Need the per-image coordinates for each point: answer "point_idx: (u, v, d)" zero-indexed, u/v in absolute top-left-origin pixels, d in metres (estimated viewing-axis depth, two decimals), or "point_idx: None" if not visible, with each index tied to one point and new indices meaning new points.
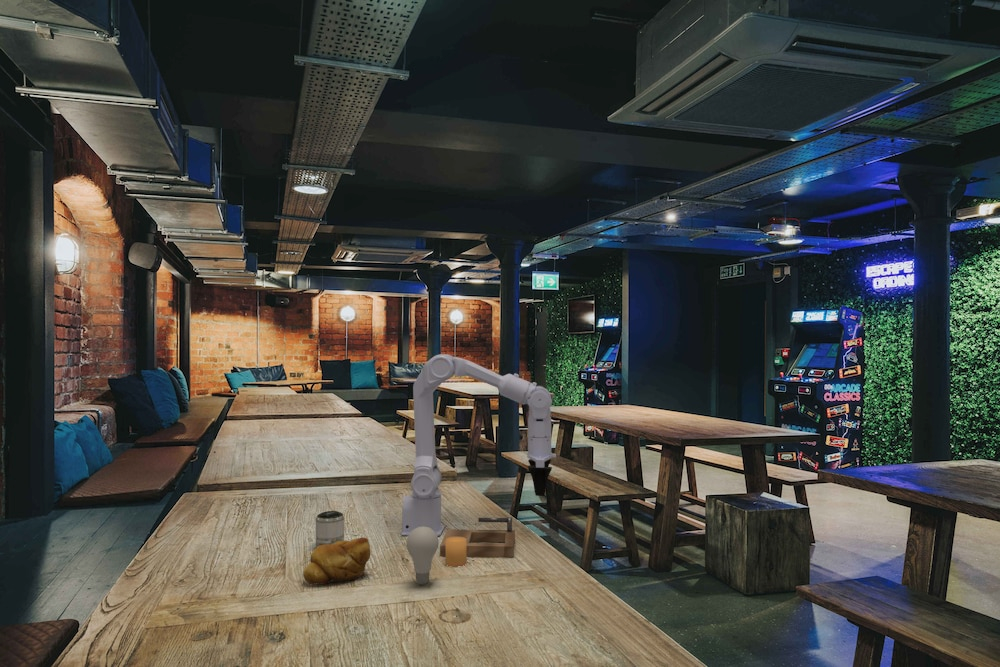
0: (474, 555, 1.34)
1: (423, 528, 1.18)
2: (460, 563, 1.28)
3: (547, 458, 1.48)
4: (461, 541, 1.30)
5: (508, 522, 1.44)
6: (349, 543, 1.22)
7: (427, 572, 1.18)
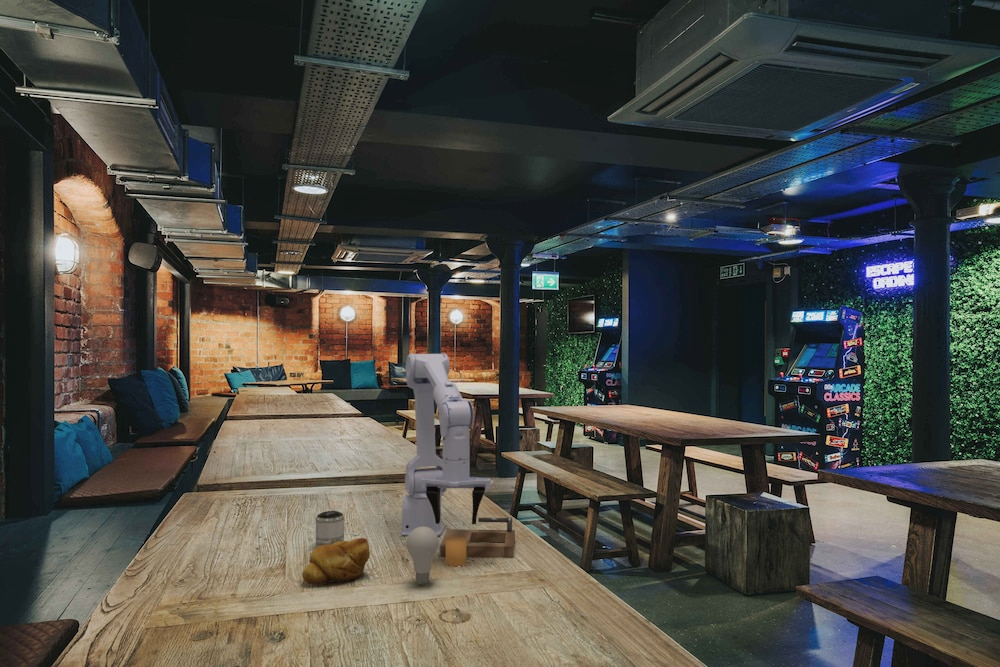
0: (474, 555, 1.34)
1: (423, 528, 1.18)
2: (460, 563, 1.28)
3: (436, 482, 1.29)
4: (461, 541, 1.30)
5: (508, 522, 1.44)
6: (348, 543, 1.22)
7: (427, 572, 1.18)
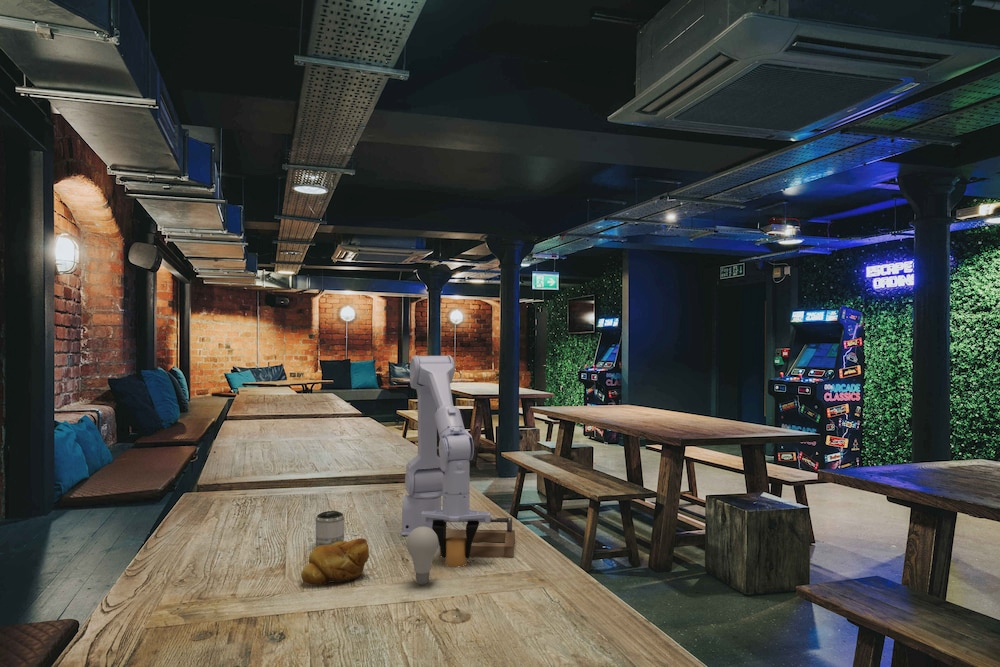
0: (474, 555, 1.34)
1: (423, 528, 1.18)
2: (460, 563, 1.28)
3: (436, 516, 1.29)
4: (461, 540, 1.30)
5: (508, 522, 1.44)
6: (347, 544, 1.21)
7: (427, 572, 1.18)
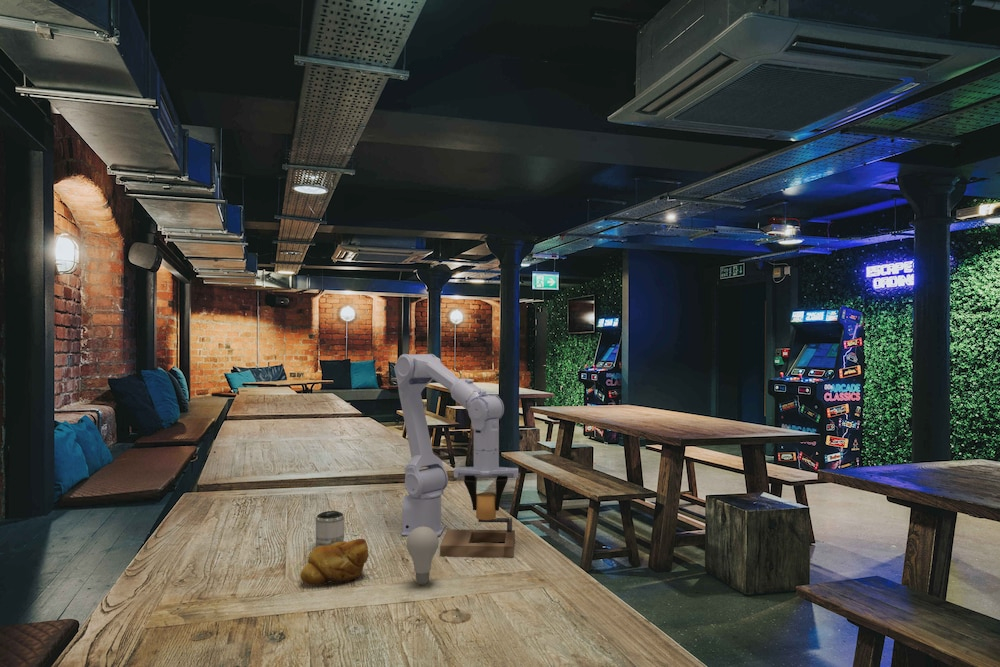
0: (474, 555, 1.34)
1: (423, 528, 1.18)
2: (489, 516, 1.37)
3: (468, 471, 1.38)
4: (490, 496, 1.38)
5: (508, 522, 1.44)
6: (347, 544, 1.21)
7: (427, 572, 1.18)
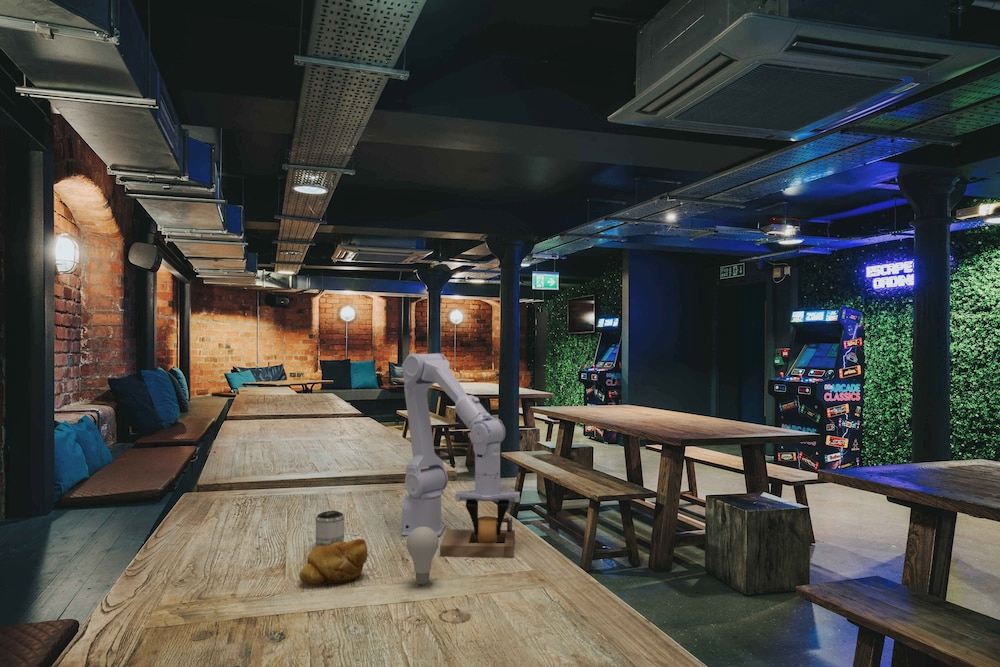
0: (474, 555, 1.34)
1: (423, 528, 1.18)
2: (491, 540, 1.38)
3: (469, 495, 1.39)
4: (492, 520, 1.39)
5: (508, 522, 1.44)
6: (346, 544, 1.21)
7: (427, 572, 1.18)
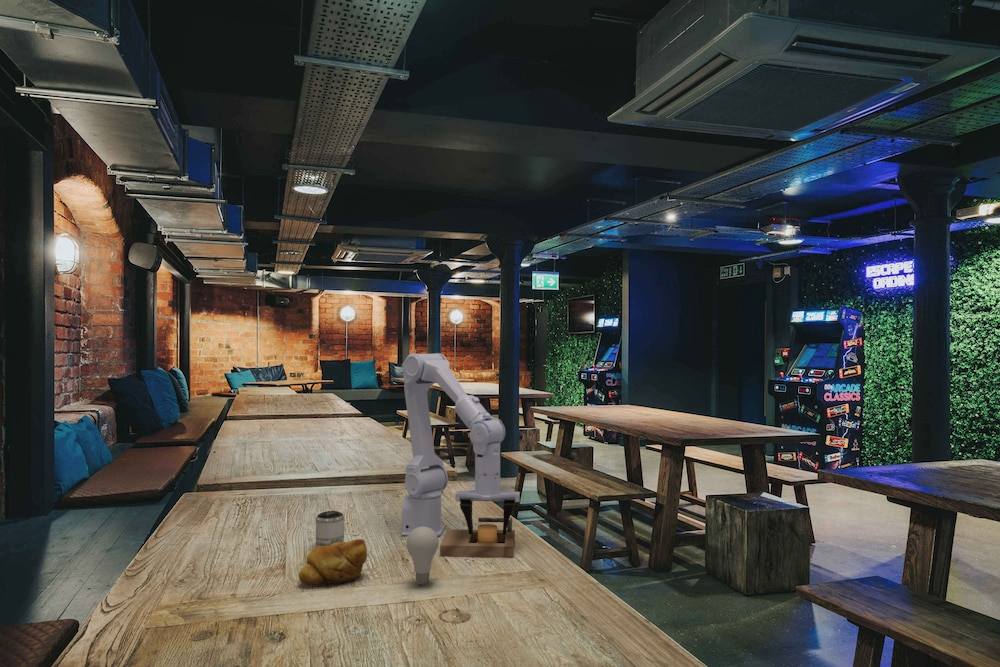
0: (474, 555, 1.34)
1: (423, 528, 1.18)
2: None
3: (469, 495, 1.39)
4: (491, 528, 1.39)
5: (508, 522, 1.44)
6: (345, 545, 1.21)
7: (427, 572, 1.18)
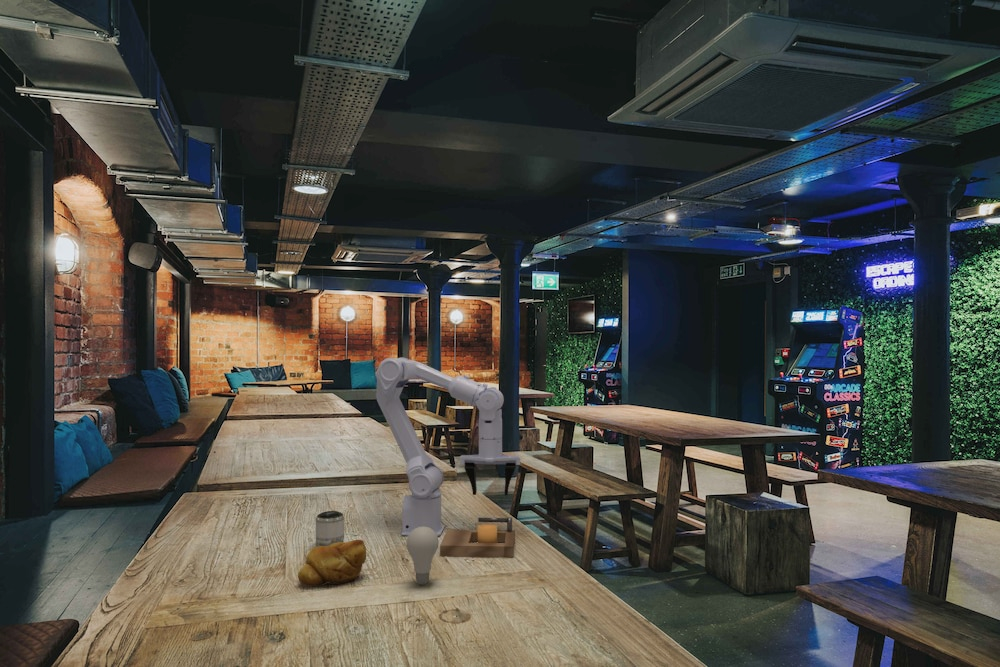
0: (474, 555, 1.34)
1: (423, 528, 1.18)
2: None
3: (473, 458, 1.49)
4: (491, 527, 1.39)
5: (508, 522, 1.44)
6: (344, 545, 1.21)
7: (427, 572, 1.18)
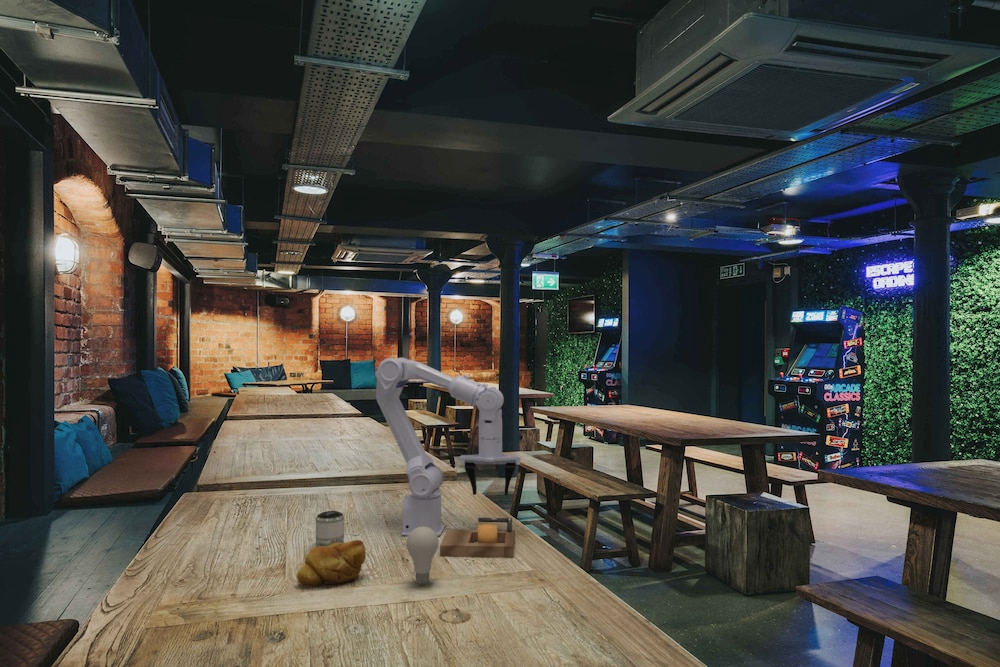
0: (474, 555, 1.34)
1: (423, 528, 1.18)
2: None
3: (473, 458, 1.49)
4: (492, 528, 1.39)
5: (508, 522, 1.44)
6: (343, 545, 1.20)
7: (427, 572, 1.18)
